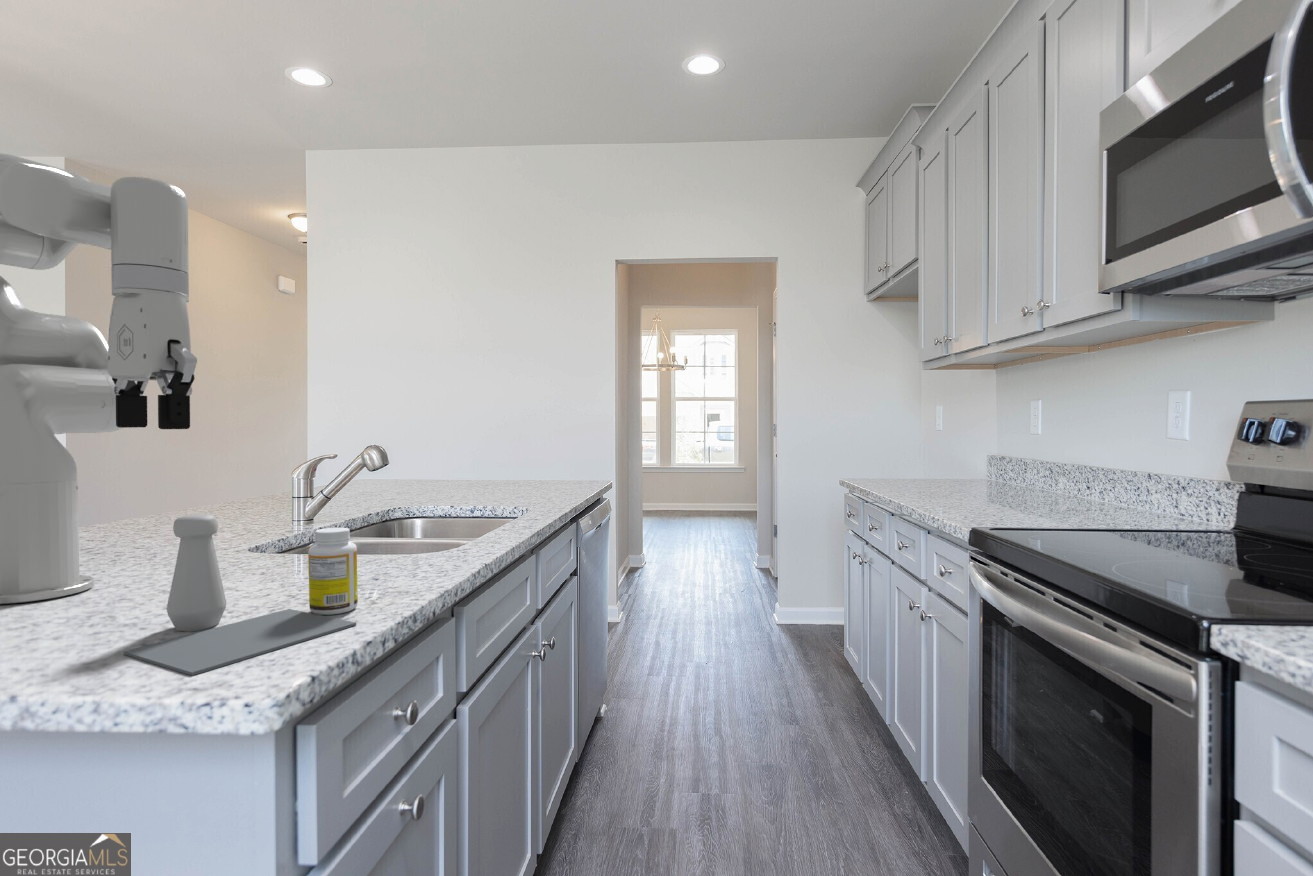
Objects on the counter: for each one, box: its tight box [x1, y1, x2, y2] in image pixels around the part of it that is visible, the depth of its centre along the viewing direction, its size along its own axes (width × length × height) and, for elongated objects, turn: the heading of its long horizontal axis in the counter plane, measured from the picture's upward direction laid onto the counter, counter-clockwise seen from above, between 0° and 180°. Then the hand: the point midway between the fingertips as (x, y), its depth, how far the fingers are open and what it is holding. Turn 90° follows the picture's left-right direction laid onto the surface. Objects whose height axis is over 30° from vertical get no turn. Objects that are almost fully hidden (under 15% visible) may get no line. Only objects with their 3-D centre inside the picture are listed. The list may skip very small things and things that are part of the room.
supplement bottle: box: [307, 527, 359, 616], centre depth 87 cm, size 6×6×10 cm
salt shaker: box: [165, 513, 227, 633], centre depth 80 cm, size 6×6×13 cm
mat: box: [123, 608, 357, 676], centre depth 76 cm, size 12×18×1 cm
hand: (152, 428), depth 84 cm, fingers open, 9 cm apart
